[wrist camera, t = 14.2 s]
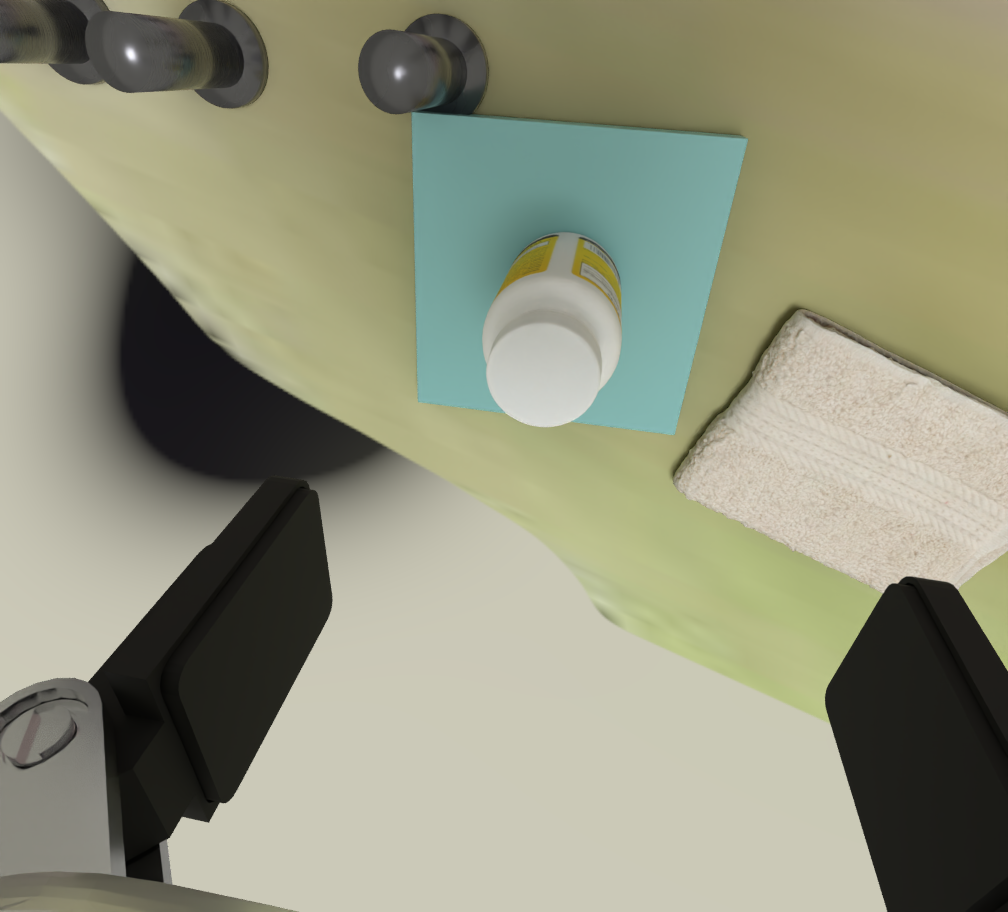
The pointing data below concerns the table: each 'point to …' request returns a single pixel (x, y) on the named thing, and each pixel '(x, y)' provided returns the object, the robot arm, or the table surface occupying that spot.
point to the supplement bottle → (554, 330)
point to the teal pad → (576, 209)
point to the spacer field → (235, 54)
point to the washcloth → (858, 460)
